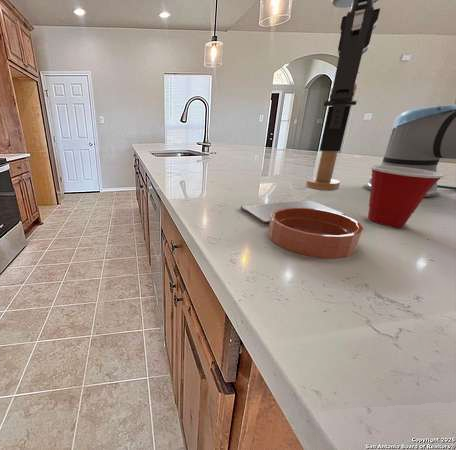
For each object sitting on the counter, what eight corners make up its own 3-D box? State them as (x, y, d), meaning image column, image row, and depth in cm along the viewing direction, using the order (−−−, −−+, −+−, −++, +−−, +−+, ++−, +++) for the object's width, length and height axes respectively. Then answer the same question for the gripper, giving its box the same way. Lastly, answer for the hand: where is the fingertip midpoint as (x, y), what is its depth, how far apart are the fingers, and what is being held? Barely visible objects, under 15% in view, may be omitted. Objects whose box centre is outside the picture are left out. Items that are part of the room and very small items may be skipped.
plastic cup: (437, 235, 47) (465, 173, 42) (372, 232, 49) (392, 172, 44) (397, 215, 57) (417, 163, 52) (345, 213, 59) (360, 163, 54)
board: (309, 204, 66) (310, 200, 66) (344, 218, 56) (345, 213, 56) (240, 210, 64) (240, 206, 63) (263, 226, 54) (264, 221, 53)
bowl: (313, 224, 54) (318, 205, 52) (377, 256, 41) (385, 231, 39) (254, 230, 52) (256, 210, 50) (300, 265, 39) (306, 240, 37)
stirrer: (323, 183, 45) (346, 79, 39) (345, 189, 41) (376, 73, 34) (299, 185, 45) (319, 79, 38) (319, 191, 40) (346, 74, 34)
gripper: (339, -10, 39) (309, 144, 48) (335, -60, 28) (297, 154, 37) (404, -28, 35) (357, 145, 44) (430, -95, 23) (360, 156, 33)
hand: (330, 149), depth 40 cm, fingers closed on stirrer, 2 cm apart
